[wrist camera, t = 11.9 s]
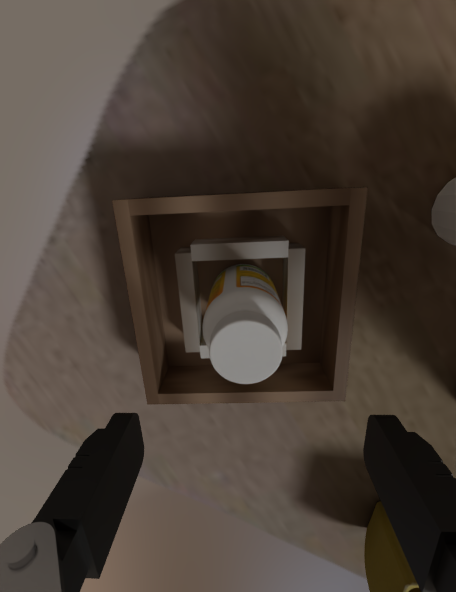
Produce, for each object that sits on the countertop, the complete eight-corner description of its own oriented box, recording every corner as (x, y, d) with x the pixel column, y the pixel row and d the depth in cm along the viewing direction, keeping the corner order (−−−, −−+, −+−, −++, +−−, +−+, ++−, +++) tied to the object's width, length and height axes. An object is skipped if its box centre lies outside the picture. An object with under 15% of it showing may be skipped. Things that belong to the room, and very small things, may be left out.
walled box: (340, 188, 23) (367, 187, 18) (327, 365, 28) (345, 401, 23) (137, 198, 23) (112, 200, 19) (162, 369, 29) (147, 404, 24)
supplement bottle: (224, 330, 26) (217, 406, 17) (201, 275, 24) (179, 327, 15) (283, 311, 25) (308, 380, 16) (263, 253, 23) (278, 293, 14)
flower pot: (365, 485, 33) (408, 586, 25) (441, 493, 33) (510, 597, 25) (346, 535, 36) (379, 641, 28) (416, 543, 36) (470, 650, 28)
